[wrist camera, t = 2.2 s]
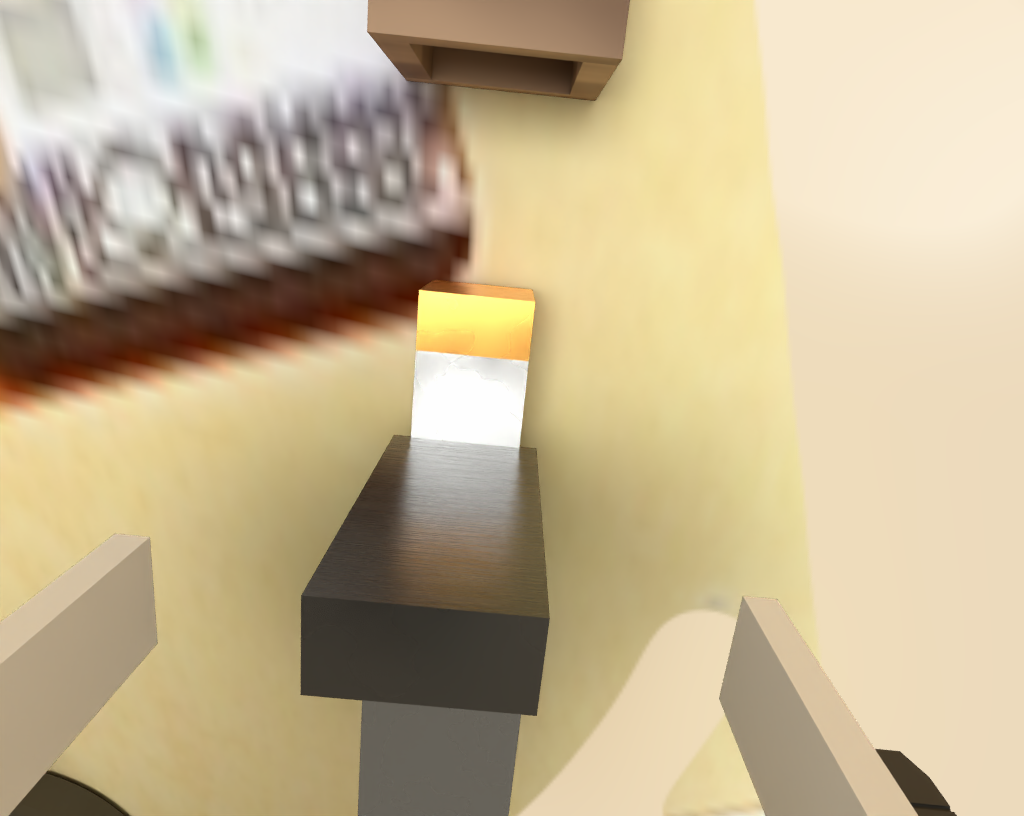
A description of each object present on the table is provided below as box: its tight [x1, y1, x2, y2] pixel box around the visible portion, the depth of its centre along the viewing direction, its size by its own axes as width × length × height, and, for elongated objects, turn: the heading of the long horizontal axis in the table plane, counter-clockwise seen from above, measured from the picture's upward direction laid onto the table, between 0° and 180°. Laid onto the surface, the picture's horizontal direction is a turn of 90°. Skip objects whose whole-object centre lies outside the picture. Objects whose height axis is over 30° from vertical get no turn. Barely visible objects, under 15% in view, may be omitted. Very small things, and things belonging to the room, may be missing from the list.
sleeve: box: [358, 700, 521, 816], centre depth 27 cm, size 14×6×6 cm, turn 174°
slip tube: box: [301, 280, 550, 716], centre depth 21 cm, size 22×5×14 cm, turn 174°
